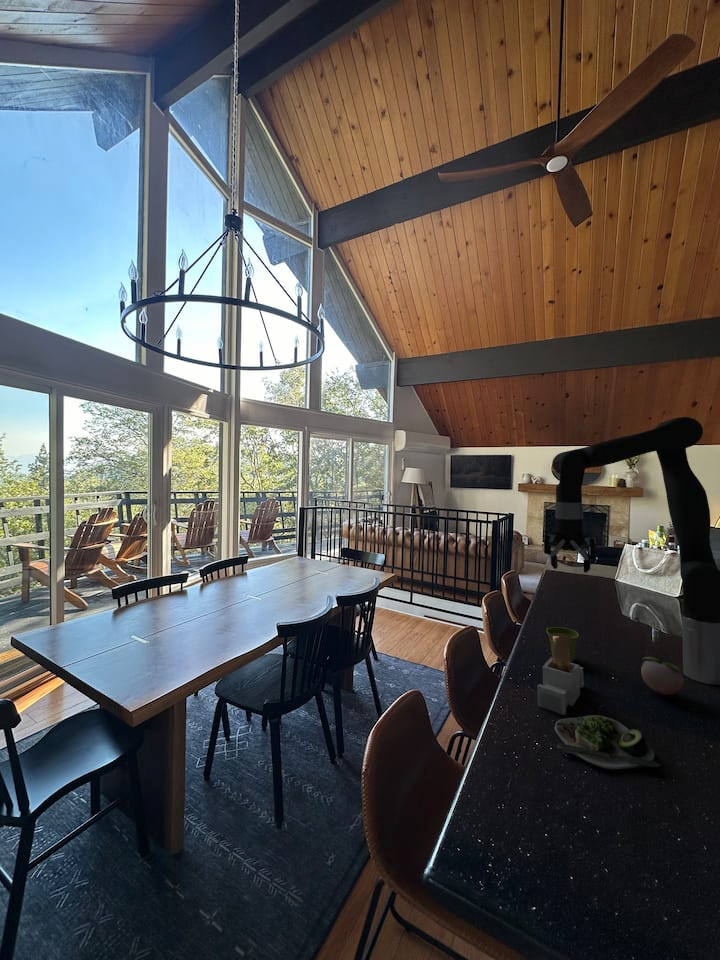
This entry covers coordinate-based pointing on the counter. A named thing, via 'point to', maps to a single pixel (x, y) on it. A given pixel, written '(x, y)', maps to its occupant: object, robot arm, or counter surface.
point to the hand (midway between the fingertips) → (570, 570)
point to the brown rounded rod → (560, 652)
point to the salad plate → (605, 743)
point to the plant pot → (570, 633)
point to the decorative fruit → (662, 676)
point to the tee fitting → (559, 687)
